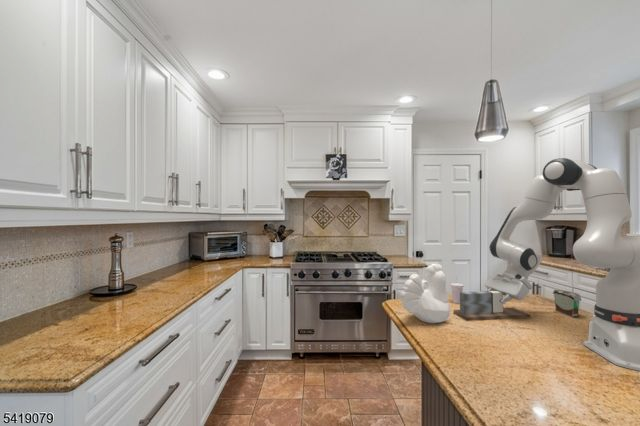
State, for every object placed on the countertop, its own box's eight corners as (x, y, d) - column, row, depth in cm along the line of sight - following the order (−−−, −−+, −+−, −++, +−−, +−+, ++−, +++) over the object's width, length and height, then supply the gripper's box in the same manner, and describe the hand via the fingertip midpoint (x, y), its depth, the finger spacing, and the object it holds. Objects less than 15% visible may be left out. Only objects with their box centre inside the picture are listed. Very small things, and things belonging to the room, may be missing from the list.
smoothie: (460, 300, 152) (460, 275, 152) (465, 304, 146) (465, 277, 146) (448, 300, 153) (448, 274, 153) (453, 304, 146) (452, 277, 147)
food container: (589, 319, 125) (589, 296, 125) (575, 318, 125) (575, 296, 125) (565, 309, 137) (565, 289, 138) (553, 309, 138) (552, 289, 138)
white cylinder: (498, 310, 132) (498, 290, 132) (503, 312, 129) (502, 292, 129) (488, 310, 131) (488, 291, 131) (493, 312, 128) (492, 292, 128)
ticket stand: (513, 310, 136) (512, 288, 137) (530, 317, 126) (530, 293, 127) (453, 313, 133) (453, 290, 133) (466, 320, 123) (466, 295, 123)
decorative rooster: (435, 312, 134) (434, 260, 135) (459, 324, 119) (458, 265, 120) (388, 316, 128) (387, 262, 128) (407, 330, 113) (407, 268, 113)
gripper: (492, 269, 141) (474, 289, 140) (527, 278, 121) (506, 301, 120) (500, 278, 142) (483, 298, 140) (536, 288, 121) (516, 311, 120)
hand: (494, 299), depth 130 cm, fingers open, 7 cm apart
